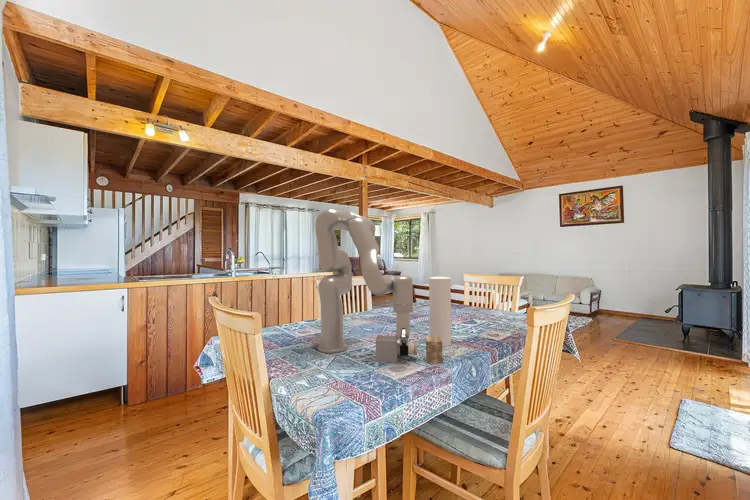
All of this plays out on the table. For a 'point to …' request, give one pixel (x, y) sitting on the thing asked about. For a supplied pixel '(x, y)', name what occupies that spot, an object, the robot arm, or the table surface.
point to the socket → (434, 349)
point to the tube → (409, 348)
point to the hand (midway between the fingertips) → (404, 351)
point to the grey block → (386, 349)
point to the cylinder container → (440, 308)
